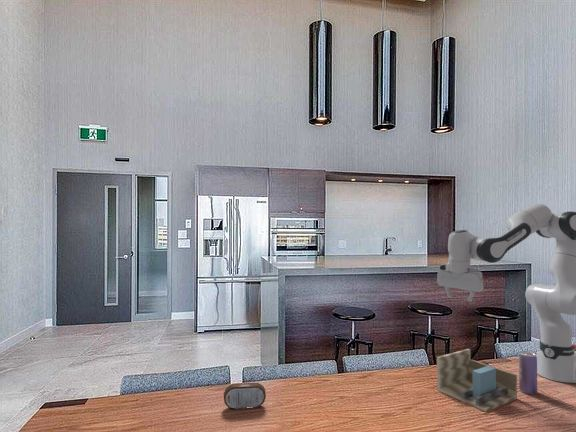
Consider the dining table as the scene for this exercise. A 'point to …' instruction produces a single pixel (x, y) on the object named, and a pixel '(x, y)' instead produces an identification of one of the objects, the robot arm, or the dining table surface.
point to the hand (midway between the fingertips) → (459, 299)
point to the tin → (244, 395)
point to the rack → (459, 383)
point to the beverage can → (528, 372)
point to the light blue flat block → (483, 381)
